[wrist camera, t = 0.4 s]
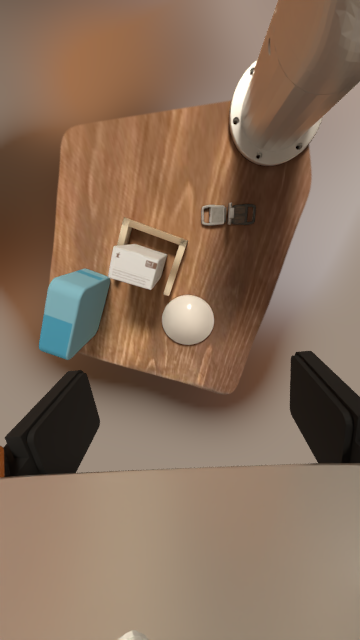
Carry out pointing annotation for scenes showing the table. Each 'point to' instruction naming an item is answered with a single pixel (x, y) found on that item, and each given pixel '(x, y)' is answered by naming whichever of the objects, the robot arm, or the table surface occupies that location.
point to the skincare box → (136, 265)
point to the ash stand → (182, 243)
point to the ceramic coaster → (188, 319)
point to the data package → (72, 312)
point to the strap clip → (234, 214)
